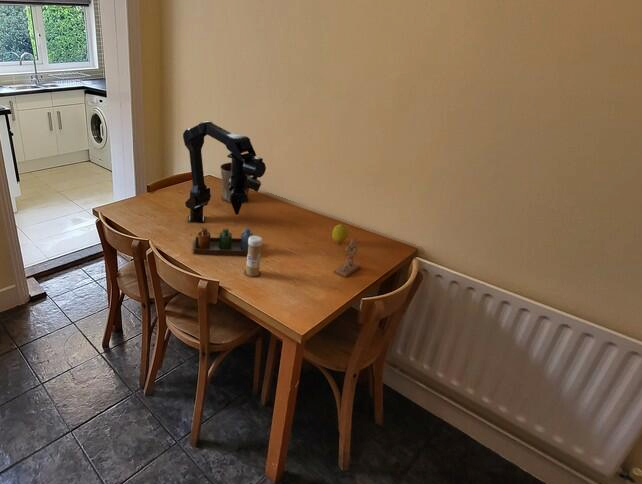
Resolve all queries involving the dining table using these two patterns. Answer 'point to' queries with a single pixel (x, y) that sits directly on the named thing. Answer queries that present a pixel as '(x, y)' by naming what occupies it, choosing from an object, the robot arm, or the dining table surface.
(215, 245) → the tray
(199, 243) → the amber bottle
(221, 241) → the green bottle
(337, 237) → the lemon
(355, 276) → the dining table surface
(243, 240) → the blue bottle
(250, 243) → the sprinkles bottle
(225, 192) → the plant pot
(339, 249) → the dining table surface
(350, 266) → the grey statuette
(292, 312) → the dining table surface
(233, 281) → the dining table surface
